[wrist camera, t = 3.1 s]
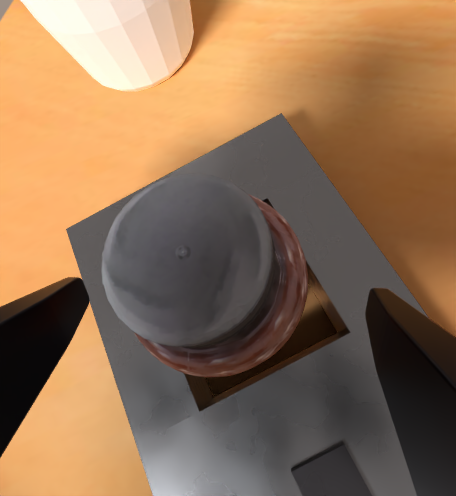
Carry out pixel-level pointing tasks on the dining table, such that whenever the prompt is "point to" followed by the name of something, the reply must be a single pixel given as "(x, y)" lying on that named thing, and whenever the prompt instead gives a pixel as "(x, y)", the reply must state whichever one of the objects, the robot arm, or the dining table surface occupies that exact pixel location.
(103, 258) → the supplement bottle
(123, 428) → the dining table surface
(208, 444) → the grey fixture plate
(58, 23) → the bottle
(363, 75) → the dining table surface
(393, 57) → the dining table surface
